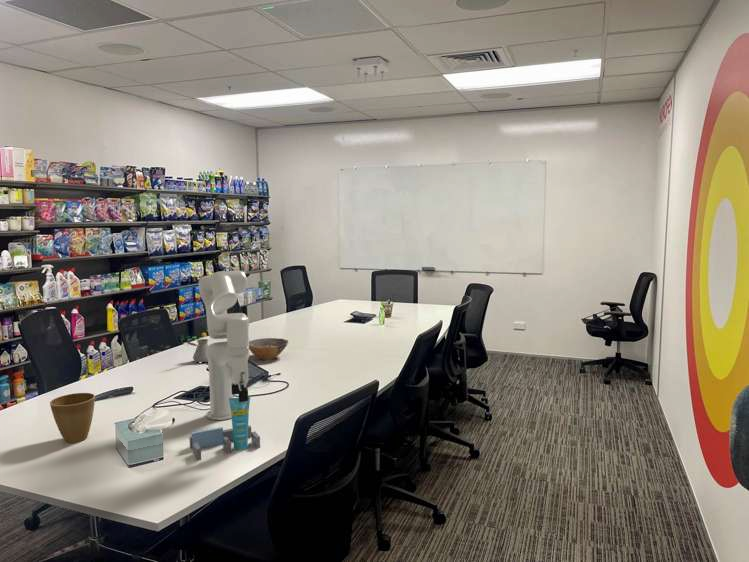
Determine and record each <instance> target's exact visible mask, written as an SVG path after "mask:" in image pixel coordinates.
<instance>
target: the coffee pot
mask: <svg viewBox="0 0 749 562" xmlns="http://www.w3.org/2000/svg"><path fill="white" fill-rule="evenodd" d="M196 341H197V344H196V343H193V342H189V341H186V342H185V344H184V345H186V344H187V345H186V346H189V345H191V346H194V347H196V349H195V352H194V353H193V355H192V356H193V357H192V359H193V360H194V361H195V362H196V363H197V362H208V361H207V356H206V349H207V347H208V346H209V344H208V343H209V339H207V338H200V339H197V340H196Z"/></svg>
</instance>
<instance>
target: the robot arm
mask: <svg viewBox="0 0 749 562" xmlns="http://www.w3.org/2000/svg"><path fill="white" fill-rule="evenodd" d="M247 288H248V278H247V275H246V273H245V272H244V271H242V270H221V271H216V272H213V274H210V275H204V276H202V277H200V278H199V280H198V290H199V294H200V297H201V300H202V302H203V304H204V307H205V314H206V325H207V327H206V328H207V333H208V336H209V338H210V339H213V340H223V339H226V341H219V342H212V343H210V344H208V347H207V349H206V356H207V361H208V363H207V365H208V376H209V379H208V380H209V402H210V403H209V405H210V407H209V408H210V410H209V411H208V412H207V413H206V418H207V419H209V420H213V421H224V420H229V419H232V417H231V408H230V402H229V398H234V395H238V398H239V402H244V401H248V396H249V386H248V383H249V367H248V366H249V365H248V363H249V362H248V360H249V357H250V350H249V341H250V338H249V337H250V336H249V333H250V332H249V326H250V320H249V317H248V316H247V315H246V314H245V313H243V312H236V313H235V312H234V313H232V312H231V313H228V309H230V308H232V307H233V306H235V305H236V304H237V301H238V294H240V293H242V292H245V291H246V290H247ZM227 365H228V367H227Z"/></svg>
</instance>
